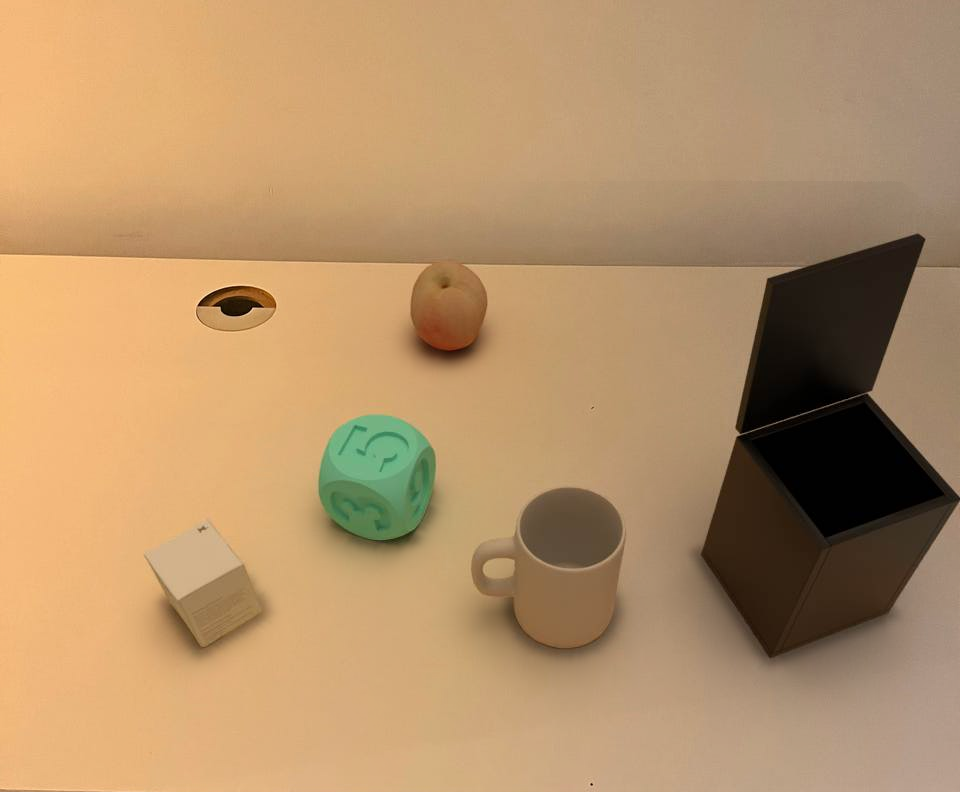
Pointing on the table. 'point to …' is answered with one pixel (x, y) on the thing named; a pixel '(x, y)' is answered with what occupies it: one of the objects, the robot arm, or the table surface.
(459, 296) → the fruit
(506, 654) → the table surface
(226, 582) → the product box
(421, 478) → the decorative dice
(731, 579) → the dark wooden storage box
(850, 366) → the lid
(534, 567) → the mug
